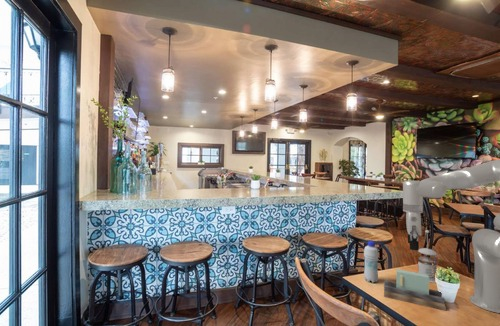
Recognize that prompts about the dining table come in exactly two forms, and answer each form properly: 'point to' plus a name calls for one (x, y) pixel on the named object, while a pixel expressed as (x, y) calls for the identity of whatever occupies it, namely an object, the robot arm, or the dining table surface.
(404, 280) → the door panel
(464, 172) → the robot arm
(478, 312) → the dining table surface
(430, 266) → the french press
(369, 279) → the bottle
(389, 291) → the bottom track
